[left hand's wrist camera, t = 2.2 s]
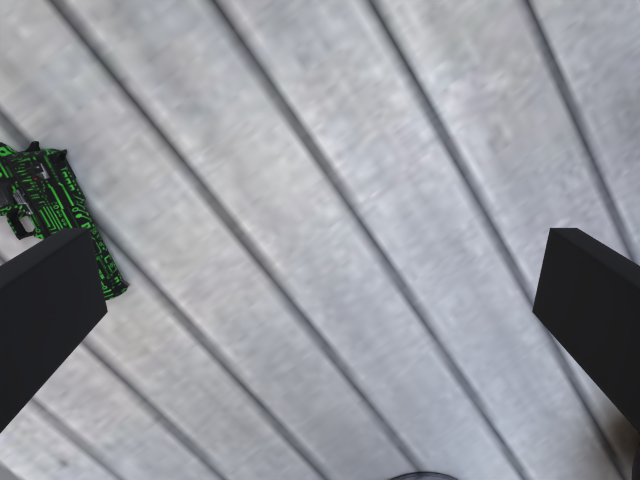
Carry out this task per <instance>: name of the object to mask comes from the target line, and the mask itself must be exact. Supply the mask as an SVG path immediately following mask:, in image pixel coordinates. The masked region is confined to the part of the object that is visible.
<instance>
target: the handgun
mask: <svg viewBox="0 0 640 480" xmlns="http://www.w3.org/2000/svg"><path fill="white" fill-rule="evenodd" d="M66 154H67V150H66V149H65V150H62V151H61V150H56V149H42V150H40V148H39V142H38V141H34V142H32V143H31V145H30V146H29V148H28V149H27V150H26V151H21V152H16V151H14V150H13V149H11V148H10V147H9V146H7V145H6V144H4V143H2V142H0V216H4V215H7V221H8V223H9V225H10V226H11V228H12V230H13V232H14V233H15V235H16V237H17V238H18V239H19V240H21V239H23V238H25V237H29V236H32V235H34V237H36V238H40V239H46V238H47V237H49V236H51V235H52V234H54V233H56V232H57V231H59V230H60V229H62V228H90V231H91V236H92V240H93V245H94V250H95V255H96V259H97V264H98V269H99V273H100V278H101V283H102V288H103V292H104V297H105V301H106V300H109V299H112V298H114V297H116V296H119V295H121V294H122V293H124V292H125V291H126V290H127V287H128V286H130V284H128V283H127V282H126V281H124V280H123V278H122V277H121V275H120V273H119V271H118V269H117V267H116V265H115V264H114V262H113V260H112V258H111V256H110V254H109V252H108V250H107V248H106V246H105V244H104V242H103V240H102V238H101V236H100V234H99V232H98V230H97V228H96V226H95V225H94V223H93V221H92V219H91V217H90V215H89V213H88V211H87V210H86V208H85V206H84V204H83V202H82V201H84V200H85V197H84V195H83V193H82V191H81V189H80V188H79V186H78V184H77V182H76V180H75V179H76V177H75V175H74V173H73V171H72V169H71V167H70V165H69V163H68V161H67V159H66V158H65V157H66ZM20 209H21V210H22V212H21V213H19V214H18V210H20ZM24 216H29V218H30V219H31V221H32V222H33V224H34V226H35V228H34V230H33V231H32V232H29V233H28V232H27V231H26V230H25V229H24V227H23V225H22V224H21V222H20V221H19V219H20V218H21V217H24Z"/></svg>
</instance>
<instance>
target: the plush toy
mask: <svg viewBox="0 0 640 480" xmlns="http://www.w3.org/2000/svg"><path fill="white" fill-rule="evenodd" d="M632 480H640V444H639V446H638V449H637V452H636V455H635V458H634V462H633V468H632Z"/></svg>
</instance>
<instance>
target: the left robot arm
mask: <svg viewBox="0 0 640 480" xmlns="http://www.w3.org/2000/svg"><path fill="white" fill-rule="evenodd" d="M107 312H108V311H107V306H106V302H105V297H104V292H103V288H102V283H101V278H100V273H99V269H98V264H97V259H96V255H95V250H94V245H93V240H92V236H91V231H90V228H62V229H60V230H59V231H57V232H56V233H54V234H52V235H51V236H49V237H47V238H46V239H44V240H42V241H41V242H39V243H37V244H36V245H34V246H33V247H31V248H29V249H28V250H26V251H24V252H23V253H21V254H19V255H18V256H16V257H14V258H13V259H11V260H10V261H8V262H6V263H5V264H3V265H1V266H0V433H1V432H2V431H3V430H4V429H5V427H6V426H7V425H8V424H9V423H10V422H11V421H12V419H13V418H14V417H15V416H16V415H17V414H18V413H19V412H20V410H21V409H22V408H23V407H24V406H25V405H26V404H27V403H28V401H29V400H30V399H31V398H32V397H33V396H34V395H35V393H36V392H37V391H38V390H39V389H40V388H41V387H42V386H43V384H44V383H45V382H46V381H47V380H48V379H49V378H50V376H51V375H52V374H53V373H54V372H55V371H56V370H57V369H58V367H59V366H60V365H61V364H62V363H63V362H64V361H65V360H66V358H67V357H68V356H69V355H70V354H71V353H72V352H73V350H74V349H75V348H76V347H77V346H78V345H79V344H80V343H81V341H82V340H83V339H84V338H85V337H86V336H87V335H88V334H89V332H90V331H91V330H92V329H93V328H94V327H95V326H96V324H97V323H98V322H99V321H100V320H101V319H102V318H103V317H104V315H105V314H106V313H107ZM532 312H533V313H534V314H535V315H536V317H537V318H538V319H539V320H540V321H541V322H542V323H543V324H544V326H545V327H546V328H547V329H548V330H549V331H550V332H551V334H552V335H553V336H554V337H555V338H556V339H557V340H558V341H559V343H560V344H561V345H562V346H563V347H564V348H565V349H566V350H567V352H568V353H569V354H570V355H571V356H572V357H573V358H574V360H575V361H576V362H577V363H578V364H579V365H580V366H581V367H582V369H583V370H584V371H585V372H586V373H587V374H588V375H589V377H590V378H591V379H592V380H593V381H594V382H595V383H596V384H597V386H598V387H599V388H600V389H601V390H602V391H603V392H604V393H605V395H606V396H607V397H608V398H609V399H610V400H611V401H612V403H613V404H614V405H615V406H616V407H617V408H618V409H619V410H620V412H621V413H622V414H623V415H624V416H625V417H626V418H627V419H628V421H629V422H630V423H631V424H632V425H633V426H634V427H635V429H636V430H637V431H638V432H639V433H640V266H639V265H637V264H635V263H634V262H632V261H630V260H629V259H627V258H626V257H624V256H622V255H621V254H619V253H617V252H616V251H614V250H612V249H611V248H609V247H607V246H606V245H604V244H603V243H601V242H599V241H598V240H596V239H594V238H593V237H591V236H589V235H588V234H586V233H584V232H583V231H581V230H580V229H578V228H550V231H549V236H548V240H547V245H546V250H545V255H544V259H543V264H542V269H541V273H540V278H539V283H538V287H537V292H536V297H535V302H534V306H533V311H532ZM393 480H457V479H455V478H452V477H449V476H446V475H442V474H436V473H416V474H409V475H405V476H401V477H398V478H396V479H393Z"/></svg>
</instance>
